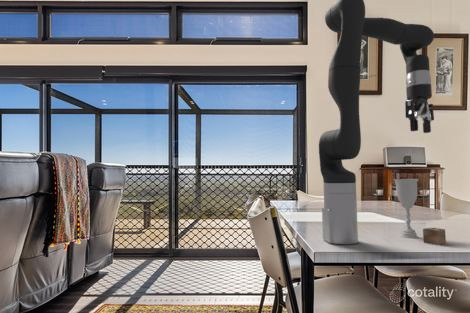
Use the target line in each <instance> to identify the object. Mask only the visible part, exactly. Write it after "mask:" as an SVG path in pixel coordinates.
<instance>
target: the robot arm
mask: <svg viewBox="0 0 470 313" xmlns="http://www.w3.org/2000/svg"><path fill="white" fill-rule="evenodd" d="M324 21H325V24H326V26H327V28H328V29H329V30H331V31H332V32H335V33H337V34H340V35H339V41H338V43H337V45H336V47H335V49H334V52H333V54H332V57H331V59H330V63H329V66H328V75H327V76H328V77H327V78H328V79H327V82H328V83H327V85H328V86H327V88H328V91H329V93H330V95H331V98H332V99H333V101H334V102H335V104H336V106H337V107H338V110H339V116H340V117H339V118H340V122H339V123H340V124H339V128H338V129H332V130H326V131H324V132H323V133H322V134H321V135H320V138H319V141H318V155H319V157H318V158H319V167H320V168H319V169H320V173H321V176H322V179H323V207H322V209H321V216H322V217H321V218H322V221H321V222H322V239H323V240H324V241H325V242H327V243H328V244H335V245H336V244H338V245H355V244H357V243H359V231H358V230H359V225H358V223H359V222H358V207H357V206H358V203H357V202H358V201H357V200H358V199H357V198H358V197H357V178H356V177H357V176H356V173H354V172H353V171H350V170H348V169H347V168H345V166H344V165H343V162H342V161H346V160H353V159H356V158H357V157H358V156H359V154H360V151H361V148H362V146H361V145H362V136H361V135H362V134H361V119H360V89H361V88H360V87H361V86H360V85H361V59H362V58H361V54H362V42H363V41H362V40H363V37H364V38H365V37H366V38H371V39H372V38H373V39H376V40H381V41H383V42H384V43H385V42H386V43H388V44H391V45H399V49H400V52H401V54H402V57H403V60H404V63H405V73H406V76H405V77H406V78H405V86H406V100H405V101H404V102H405V103H404V105H405V107H404V108H405V118H406V119H408V120H409V126H410V127H409V128H410V132H417V131H419V120H418V119H419V118H420V119H421V120H422V131H423V132H422V133H423V134H429V133H431V132H432V127H431V122H432V121H434V120H435V115H434V104H433V103H428V101H429V99H432V96H433V94H432V93H433V90H432V76H431V72H430V71H431V70H430V58H429V56H428V55H427V54H425V53H424V54H422V53H421V54H418V53H417V52H418V51H419V50H421V49H424V48H426V47H428V46H430V45H431V44H432V43H433V41H434V39H435V33H434V31H433V29H432V28H430V27H429V26H427V25H424V24H419V23H404V22H402V21H400V20H396V19H393V18H387V17H376V18H375V17H373V18H366V5H365V2H364V0H337V1H336V2H335V3H333V4H332V5H331V6H330V7H329V8H328V9H327V10H326V12H325V14H324Z"/></svg>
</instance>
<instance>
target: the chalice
mask: <svg viewBox="0 0 470 313" xmlns="http://www.w3.org/2000/svg"><path fill="white" fill-rule="evenodd" d="M418 181H419V178H394V182H395V188H396V191H395V192H396V197H397V199H398V202H399V203H400V204H401V207H402V208H403V209H405V214H404V215H405V220H404V222H406V223H405V224H406V226H405V228H403V229H401V232H400V235H399V236H400V237H401V238H407V239H418V238H419V236H418V235H417V233H416V230H415V229H413V228H412V227H411V222H412V220H411V213H410V209H412V208H413V206H414V205H415V203H416V201H417V198H418Z"/></svg>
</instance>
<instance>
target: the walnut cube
mask: <svg viewBox="0 0 470 313" xmlns="http://www.w3.org/2000/svg"><path fill="white" fill-rule="evenodd" d="M422 233H423V234H422V238H423V243H424V244H429V245H434V244H435V246H442V245H445V243H447V241H446V240H447V238H446V228H440V227H439V228H438V227H427V228H422ZM441 244H442V245H441Z"/></svg>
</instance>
